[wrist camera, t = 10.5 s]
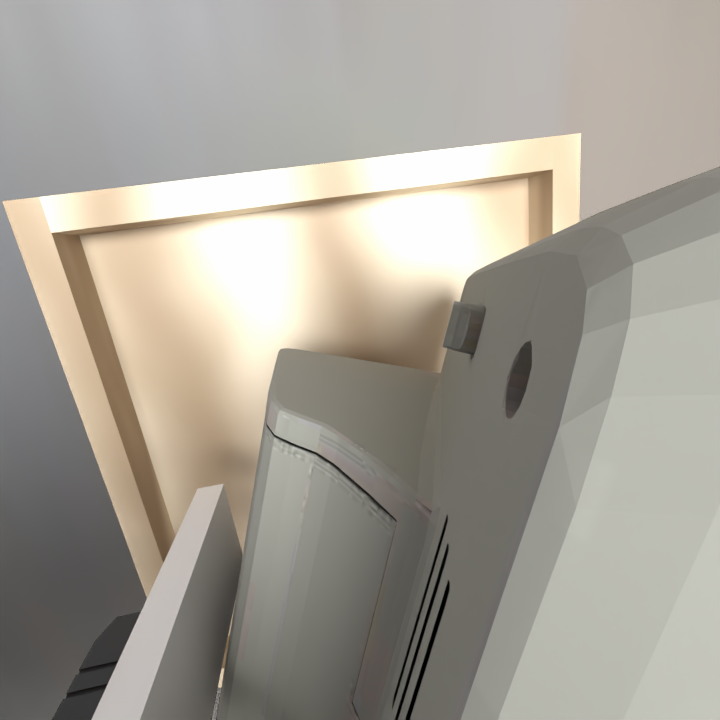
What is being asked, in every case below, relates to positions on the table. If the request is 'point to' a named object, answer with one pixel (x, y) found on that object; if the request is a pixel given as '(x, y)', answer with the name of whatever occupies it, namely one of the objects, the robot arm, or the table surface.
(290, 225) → the birch tray
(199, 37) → the table surface
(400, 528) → the digital clock
